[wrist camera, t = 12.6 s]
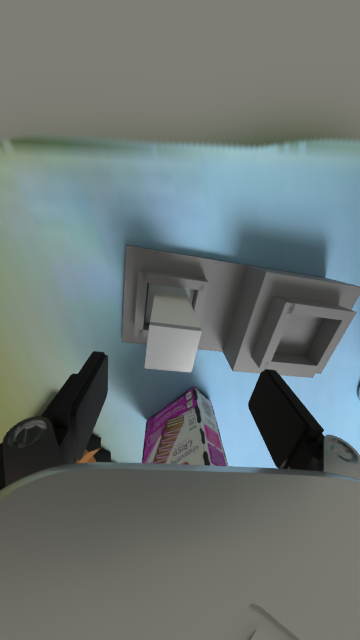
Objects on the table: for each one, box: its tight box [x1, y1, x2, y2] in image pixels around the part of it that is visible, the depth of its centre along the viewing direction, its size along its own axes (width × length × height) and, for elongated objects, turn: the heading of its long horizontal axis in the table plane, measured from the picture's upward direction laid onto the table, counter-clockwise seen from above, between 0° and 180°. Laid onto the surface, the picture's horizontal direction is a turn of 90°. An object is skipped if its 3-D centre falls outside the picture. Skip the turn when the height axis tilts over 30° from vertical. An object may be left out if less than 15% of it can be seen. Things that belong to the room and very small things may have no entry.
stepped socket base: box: [122, 245, 360, 378], centre depth 21 cm, size 25×12×7 cm, turn 81°
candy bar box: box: [142, 387, 228, 466], centre depth 24 cm, size 11×5×16 cm, turn 132°
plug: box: [144, 292, 202, 373], centre depth 19 cm, size 4×4×9 cm
